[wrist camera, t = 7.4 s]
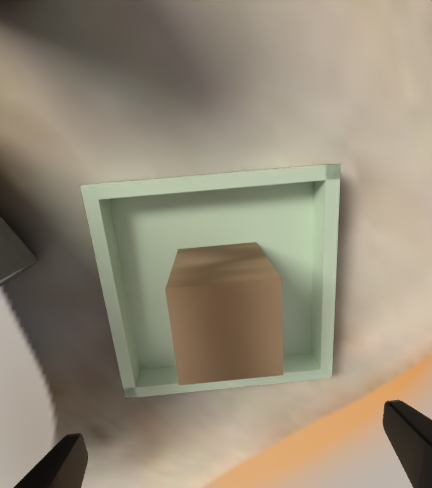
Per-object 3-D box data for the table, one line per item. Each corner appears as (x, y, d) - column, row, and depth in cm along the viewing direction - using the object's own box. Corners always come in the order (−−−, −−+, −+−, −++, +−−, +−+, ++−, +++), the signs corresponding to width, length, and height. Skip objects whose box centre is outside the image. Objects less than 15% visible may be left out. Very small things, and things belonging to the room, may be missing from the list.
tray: (326, 164, 16) (340, 163, 15) (321, 359, 20) (331, 378, 18) (93, 183, 16) (80, 185, 14) (132, 378, 20) (125, 398, 18)
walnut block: (255, 241, 17) (281, 278, 12) (258, 311, 19) (283, 375, 13) (178, 249, 17) (165, 289, 12) (186, 318, 19) (178, 385, 13)
